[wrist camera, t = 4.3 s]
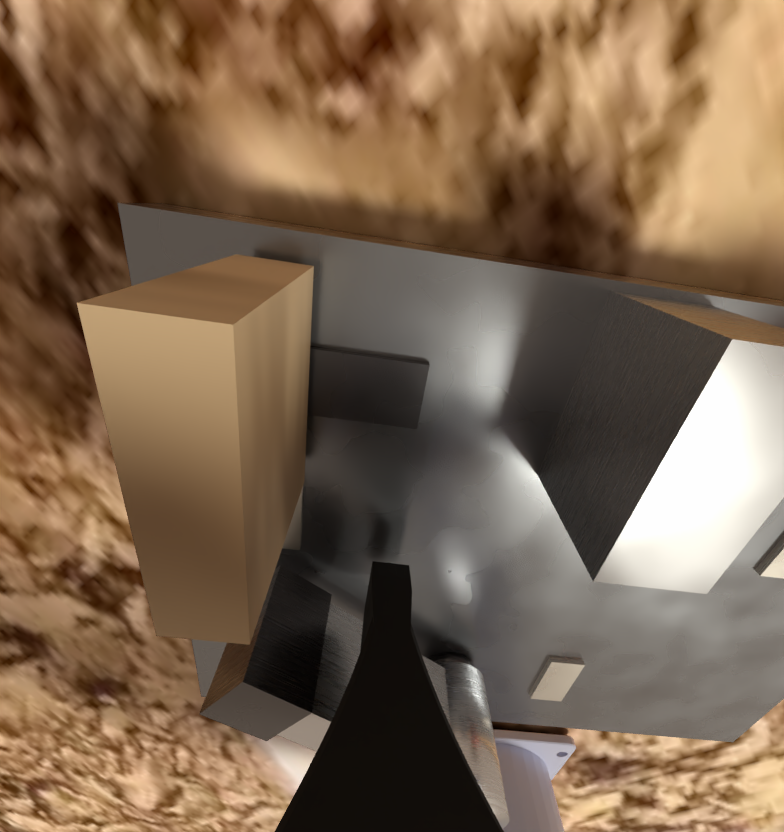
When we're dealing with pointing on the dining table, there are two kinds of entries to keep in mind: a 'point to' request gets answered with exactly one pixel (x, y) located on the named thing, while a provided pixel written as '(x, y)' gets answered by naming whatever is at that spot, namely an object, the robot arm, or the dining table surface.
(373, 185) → the dining table surface
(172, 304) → the paddle
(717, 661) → the panel
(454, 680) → the lever
